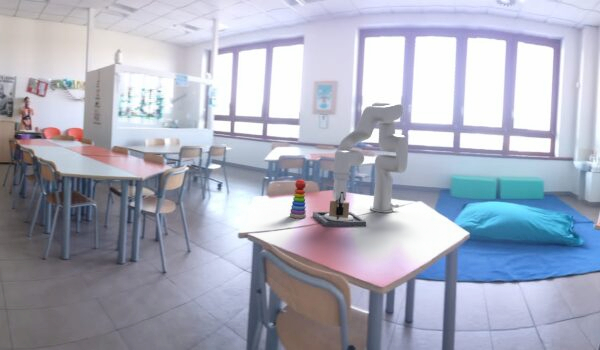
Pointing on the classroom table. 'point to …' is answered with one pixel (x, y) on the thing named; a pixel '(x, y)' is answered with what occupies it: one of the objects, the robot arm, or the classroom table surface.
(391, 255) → the classroom table surface
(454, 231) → the classroom table surface
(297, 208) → the stacking toy
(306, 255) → the classroom table surface
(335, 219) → the dial
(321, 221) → the dial housing
